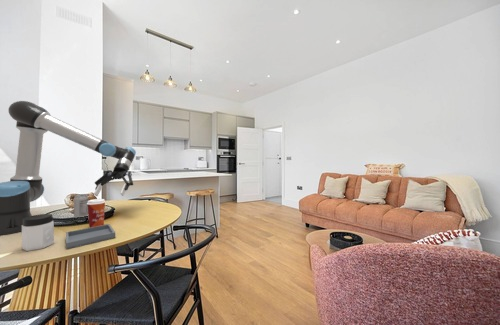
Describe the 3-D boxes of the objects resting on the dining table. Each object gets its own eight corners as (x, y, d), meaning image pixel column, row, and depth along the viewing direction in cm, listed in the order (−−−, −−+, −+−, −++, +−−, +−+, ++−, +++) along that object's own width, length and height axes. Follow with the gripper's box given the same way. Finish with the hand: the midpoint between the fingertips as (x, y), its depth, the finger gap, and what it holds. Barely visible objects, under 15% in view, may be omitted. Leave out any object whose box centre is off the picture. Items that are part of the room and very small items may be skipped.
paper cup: (95, 230, 95) (95, 202, 95) (82, 229, 96) (82, 201, 96) (109, 225, 103) (109, 199, 102) (98, 223, 104) (97, 198, 104)
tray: (66, 249, 75) (66, 243, 75) (65, 237, 86) (65, 232, 86) (115, 237, 87) (115, 232, 87) (109, 228, 97) (109, 223, 97)
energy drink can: (83, 219, 111) (83, 193, 111) (91, 220, 110) (90, 194, 109) (71, 222, 106) (70, 195, 105) (79, 223, 104) (78, 196, 104)
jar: (37, 251, 74) (37, 220, 73) (15, 251, 73) (14, 220, 73) (59, 241, 83) (59, 213, 82) (39, 241, 82) (39, 213, 82)
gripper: (144, 170, 127) (134, 198, 113) (103, 170, 124) (87, 198, 110) (141, 162, 122) (130, 190, 108) (98, 162, 119) (80, 191, 104)
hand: (108, 194), depth 109 cm, fingers open, 13 cm apart
